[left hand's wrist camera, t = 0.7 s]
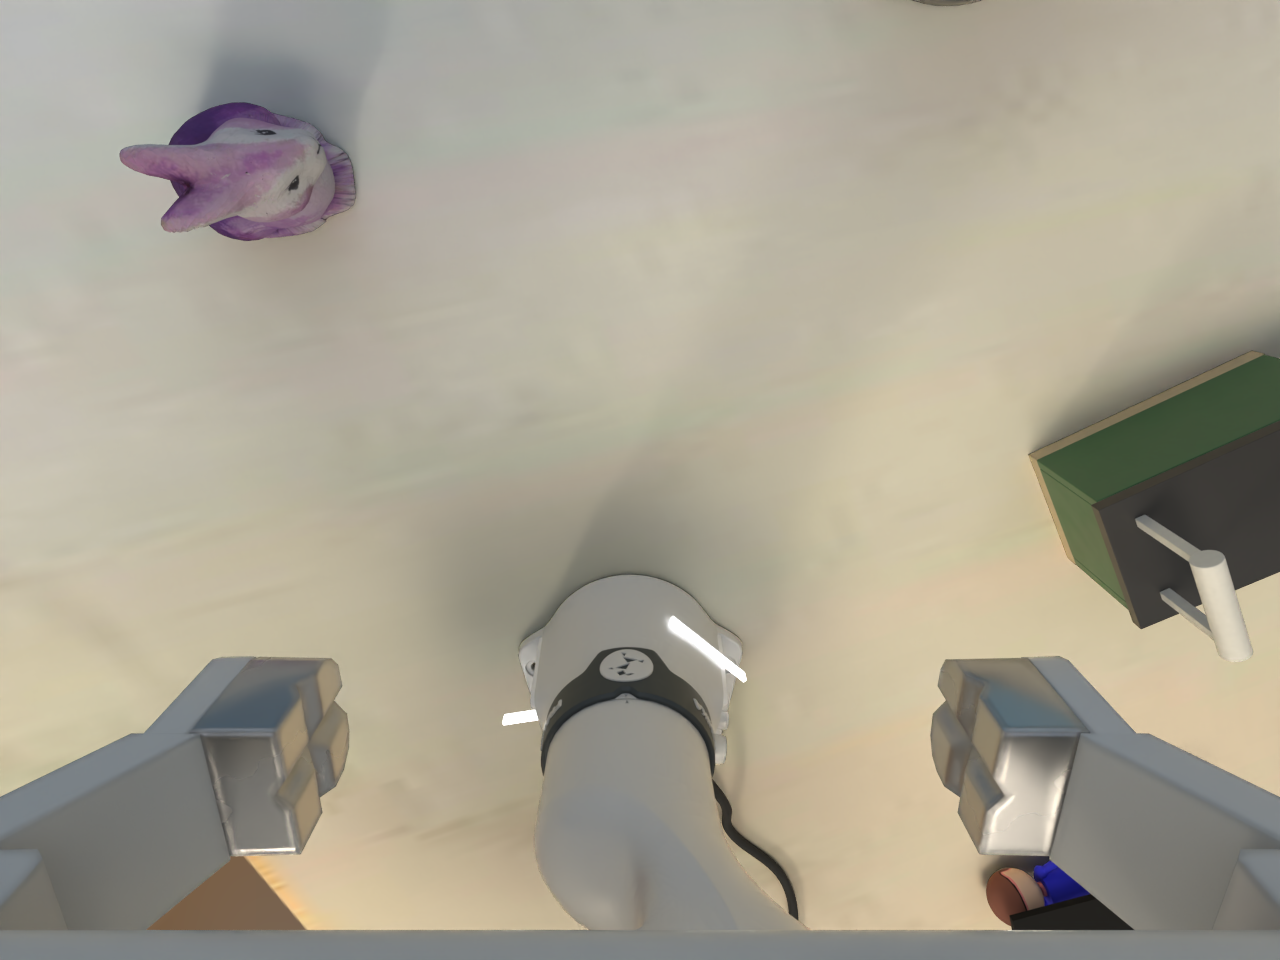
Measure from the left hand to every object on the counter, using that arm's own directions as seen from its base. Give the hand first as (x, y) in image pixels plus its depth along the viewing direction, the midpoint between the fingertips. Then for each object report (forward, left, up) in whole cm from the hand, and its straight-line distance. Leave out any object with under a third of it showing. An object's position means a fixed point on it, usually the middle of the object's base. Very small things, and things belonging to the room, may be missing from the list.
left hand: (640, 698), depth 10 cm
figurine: (+8, +23, -47) cm, 53 cm away
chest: (-14, -39, -47) cm, 63 cm away
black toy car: (-55, -39, -47) cm, 82 cm away
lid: (-14, -39, -37) cm, 56 cm away
